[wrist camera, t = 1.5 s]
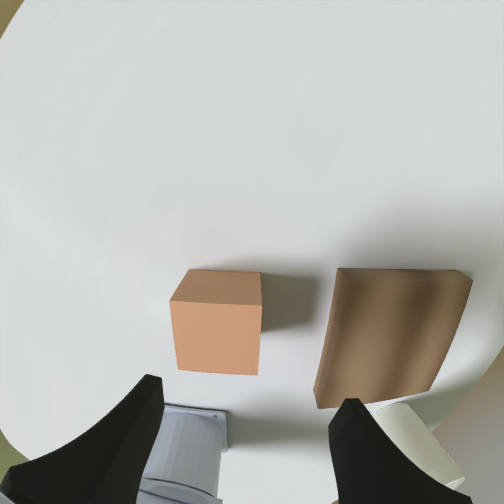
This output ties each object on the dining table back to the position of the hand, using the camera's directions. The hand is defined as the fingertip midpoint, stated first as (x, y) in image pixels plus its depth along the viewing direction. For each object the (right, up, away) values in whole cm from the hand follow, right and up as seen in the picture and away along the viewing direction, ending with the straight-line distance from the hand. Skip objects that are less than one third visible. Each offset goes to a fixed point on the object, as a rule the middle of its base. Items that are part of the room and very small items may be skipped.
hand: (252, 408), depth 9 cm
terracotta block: (-2, +2, +10) cm, 11 cm away
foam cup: (+16, -14, +15) cm, 26 cm away
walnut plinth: (+12, -1, +12) cm, 17 cm away
